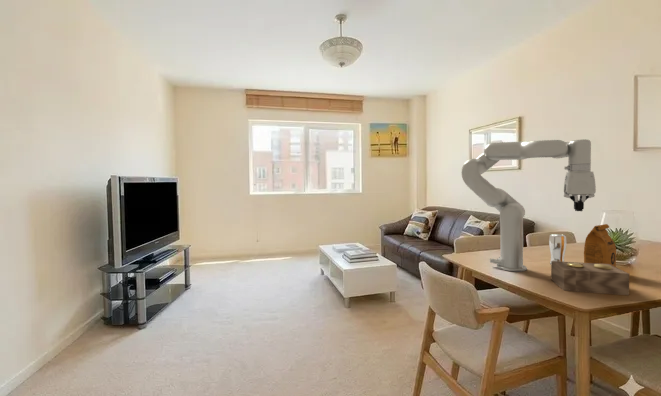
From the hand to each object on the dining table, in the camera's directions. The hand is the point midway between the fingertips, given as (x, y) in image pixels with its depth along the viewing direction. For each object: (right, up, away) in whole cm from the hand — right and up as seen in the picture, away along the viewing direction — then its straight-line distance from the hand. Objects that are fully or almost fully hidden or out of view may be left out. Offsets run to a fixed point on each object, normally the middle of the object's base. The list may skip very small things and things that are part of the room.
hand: (578, 210), depth 134 cm
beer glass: (+7, -28, +21) cm, 36 cm away
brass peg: (-10, -29, -10) cm, 32 cm away
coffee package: (+15, -29, +7) cm, 33 cm away
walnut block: (-6, -30, -11) cm, 32 cm away
